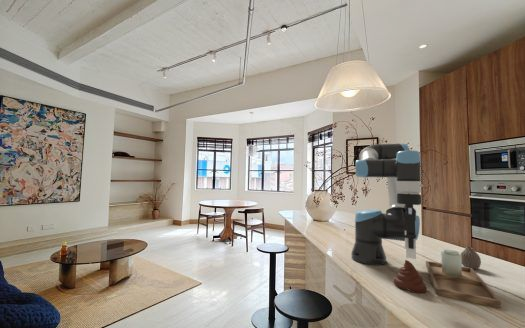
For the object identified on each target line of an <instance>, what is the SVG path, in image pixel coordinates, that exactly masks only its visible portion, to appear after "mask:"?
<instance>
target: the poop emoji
mask: <svg viewBox="0 0 525 328" xmlns="http://www.w3.org/2000/svg"><path fill="white" fill-rule="evenodd" d="M392 281H393V284H394V286H395V287H397V288H399V289H401V290H409V291H410V292H412V293H416V294H422V293H425V292H426V291H427V290H428V288H427V285H426V283H425V282H424V278H423V276H422V275H421V274H420V273H419V271H418V270H417V268H415V266H414V264H413V263H412V262H410V261H409V260H407V259H405V260H404V265H403V266H402V267H400V268H399V271H398V272H397V273H396V276H395V277H394V278H393V280H392Z"/></svg>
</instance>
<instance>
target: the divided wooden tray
mask: <svg viewBox="0 0 525 328" xmlns="http://www.w3.org/2000/svg"><path fill="white" fill-rule="evenodd" d="M425 267H426V269H427V270H426V271H427V272H428V276H429V279H430V281H431V284H432V287H433V290H434V292H435V295H436V296H437V295H438V296H442V297H447V298H451V299H456V300H461V301H465V302H469V303H475V304H479V305H485V306H489V307H492V308H493V307H494V308H499V309H501V307H502V306H501V300H500V299H499V298H498V296H497V295H496V294H495V293H494V292H493V291H492V290H491V288H490V287H489V286H488V285H487V284H486V283H485V282H484V280H483V279H482V278H481V277H480V276H479V275H478V274H477V272H476V271H475V270H473V269H472V268H468V267H464V266H462V277H455V276H449V275H445V274H443V273H442V262H437V261H436V262H435V261H429V260H426V261H425Z"/></svg>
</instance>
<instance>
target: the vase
mask: <svg viewBox="0 0 525 328" xmlns="http://www.w3.org/2000/svg"><path fill="white" fill-rule="evenodd" d="M460 255H461V258H462V267H468V268H472V269H473V270H474V271H475V270H478V269H479V268H480V267H481V265H482V259H481V257H480V255H479V254H478V253H477V251H476V250H475V248H473V247H471V246H466V247H465V249H464V250H462V252H461V253H460Z"/></svg>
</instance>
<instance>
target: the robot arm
mask: <svg viewBox="0 0 525 328" xmlns="http://www.w3.org/2000/svg"><path fill="white" fill-rule="evenodd" d="M421 162H422V159H421V153H420V151H418V150H413V149H412V150H411V149H410V147H409V146H408V144H406V143H398V142H397V143H380V144H378V143H376V144H372V145H368V146H366V147H364V148H363V149H361V150H360V152H359V155H358V159H357V160H355V175H356V177H359V178H387V179H386V180H387V191H388V192H387V193H388V206H389V207H388V208H387V209H386V210H385V213H383V211H382V210H381V209H365V210H358V211H357V212H356V213H355V218H354V223H355V225H354V227H355V228H354V229H355V232H354V233H355V234H354V235H355V239H354V240H355V241H354V244H353V247H352V251H351V259H352V260H354V261H355V262H358V263H361V264H366V265H375V266H376V265H377V266H381V265H385V264H386V263H387V255H386V253H385V249H384V245H383V240H391V241H400V242H404V248H405V249H406V250H405V252H406V253H405V257H406V258H407V259H413V260H416V259H417V249H416V248H417V245H416V244H417V243H416V242H417V241H418V239H419V235H420V228H421V227H420V224H421V223H420V221H421V220H420V219H421V218H420V216H419V215H417V210H416V209H415V208H414V206H420V205H421V204H422V195H421V194H420V193H421V192H422V187H423V188H424V184H423V183H422V182H421V180H422V177H421V175H422V173H421V172H422V171H421ZM421 183H422V184H421Z"/></svg>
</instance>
